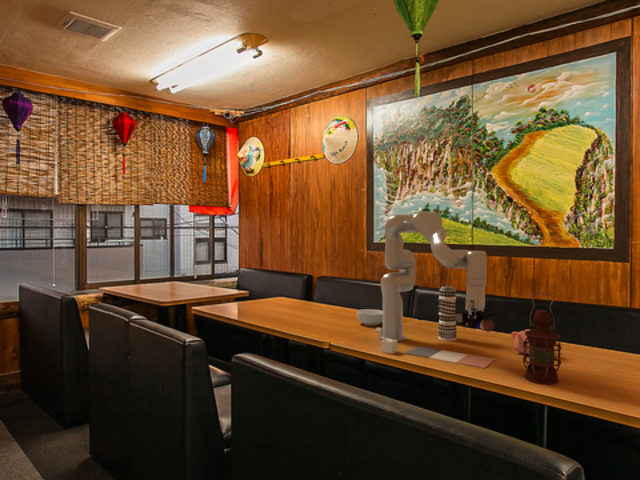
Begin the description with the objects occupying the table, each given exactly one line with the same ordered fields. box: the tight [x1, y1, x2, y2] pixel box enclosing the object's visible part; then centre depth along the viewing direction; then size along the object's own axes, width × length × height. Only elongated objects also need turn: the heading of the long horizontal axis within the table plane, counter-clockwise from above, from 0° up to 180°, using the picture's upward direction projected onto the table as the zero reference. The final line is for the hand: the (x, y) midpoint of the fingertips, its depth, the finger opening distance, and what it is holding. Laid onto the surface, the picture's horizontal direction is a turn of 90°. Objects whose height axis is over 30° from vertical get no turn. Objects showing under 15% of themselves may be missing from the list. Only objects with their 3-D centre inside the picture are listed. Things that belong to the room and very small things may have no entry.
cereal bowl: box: [356, 308, 383, 327], centre depth 245 cm, size 17×17×7 cm
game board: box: [403, 345, 496, 369], centre depth 180 cm, size 33×14×1 cm, turn 53°
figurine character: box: [456, 311, 497, 333], centre depth 173 cm, size 7×8×15 cm
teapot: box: [511, 328, 531, 355], centre depth 185 cm, size 14×12×10 cm
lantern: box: [522, 292, 563, 386], centre depth 152 cm, size 12×12×30 cm
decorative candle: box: [437, 285, 459, 342], centre depth 211 cm, size 9×9×25 cm
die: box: [380, 338, 398, 355], centre depth 188 cm, size 5×5×5 cm
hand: (476, 326), depth 173 cm, fingers closed on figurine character, 7 cm apart
